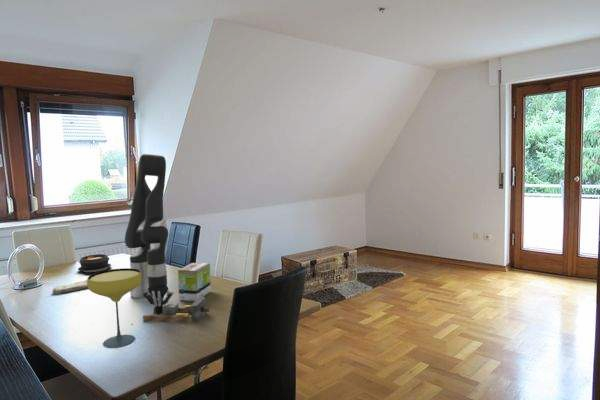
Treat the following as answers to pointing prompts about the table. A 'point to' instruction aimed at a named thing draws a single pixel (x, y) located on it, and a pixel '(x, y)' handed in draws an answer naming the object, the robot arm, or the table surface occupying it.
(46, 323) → the table surface
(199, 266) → the tea box
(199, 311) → the guide channel
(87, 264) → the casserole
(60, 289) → the elongated rock
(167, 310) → the dice cube
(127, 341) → the cocktail glass
